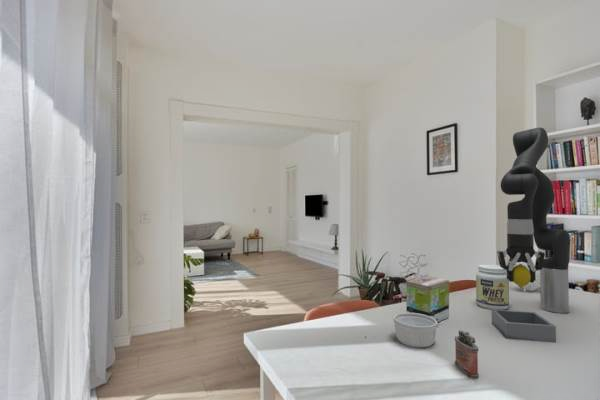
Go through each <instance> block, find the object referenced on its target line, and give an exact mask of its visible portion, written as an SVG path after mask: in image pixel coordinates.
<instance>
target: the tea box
mask: <svg viewBox="0 0 600 400" xmlns="http://www.w3.org/2000/svg"><path fill="white" fill-rule="evenodd" d="M405 313H418V314H423V315H427V316H430V317H432V318H434V319H435V320H436V321H437V323H439V322H441V321H444V320H446V319H448V318H450V279H445V278H444V279H443V278H439V277H434V276H433V277H432V276H422V277H418V278H415V279H412V280H408V281H406V311H405Z"/></svg>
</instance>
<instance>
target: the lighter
mask: <svg viewBox="0 0 600 400" xmlns="http://www.w3.org/2000/svg"><path fill="white" fill-rule="evenodd" d="M454 342H455V344H454V345H455V360H454V365H455V367H456V369H457V370H459V371H460V372H461V373H462V374H463V375H465V376H467V377H468V378H470V379H479V377H480V374H479V371H478V370H479V368H478V367H479V365H478V364H479V361H478V360H479V359H478V357H479V355H478V352H479V346H478V345H477V344H475V343H476V338H475V337H473V335H471V334H470V332H469V331H465V330H463V329H458V335H455V336H454Z"/></svg>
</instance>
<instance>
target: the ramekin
mask: <svg viewBox="0 0 600 400" xmlns="http://www.w3.org/2000/svg"><path fill="white" fill-rule="evenodd" d="M393 323H394V329H395V330H394V332H395V336H396V337H395V338H396V339H398V342H400V344H401V343H402V344H403V345H406V346H409V347H412V348H428V347H430V346H433V344H434V343H435V340H436V334H437V328H438V322H437V321H436V320H435V319H434V318H432V317H430V316H427V315H423V314H418V313H406V312H400V313H397V314H395V315H394V316H393Z"/></svg>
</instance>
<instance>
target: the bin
mask: <svg viewBox="0 0 600 400" xmlns="http://www.w3.org/2000/svg"><path fill="white" fill-rule="evenodd" d="M491 324H492V325H493V326H494V327H495V328H496V329H497V330H498V332H500V334H502V335H503V337H504V338H505V339H509V340H510V339H511V340H522V341H533V342H545V343H546V342H547V343H557V326H556V325H555V324H554V323H552V322H550V321H549V320H547V319H546V318H544V317H543V316H541V315H540V314H538V313H537V312H536V311H524V310H522V311H521V310H510V309H509V310H508V309H504V310H494V309H491Z"/></svg>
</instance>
